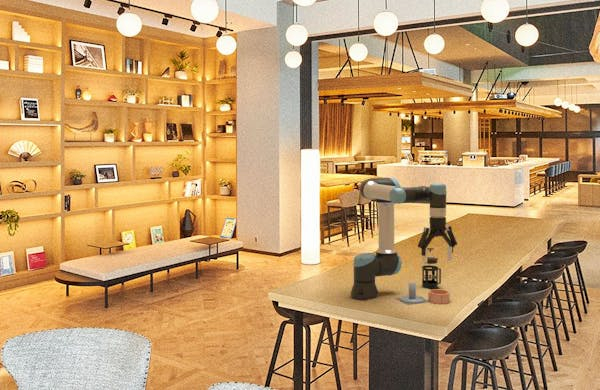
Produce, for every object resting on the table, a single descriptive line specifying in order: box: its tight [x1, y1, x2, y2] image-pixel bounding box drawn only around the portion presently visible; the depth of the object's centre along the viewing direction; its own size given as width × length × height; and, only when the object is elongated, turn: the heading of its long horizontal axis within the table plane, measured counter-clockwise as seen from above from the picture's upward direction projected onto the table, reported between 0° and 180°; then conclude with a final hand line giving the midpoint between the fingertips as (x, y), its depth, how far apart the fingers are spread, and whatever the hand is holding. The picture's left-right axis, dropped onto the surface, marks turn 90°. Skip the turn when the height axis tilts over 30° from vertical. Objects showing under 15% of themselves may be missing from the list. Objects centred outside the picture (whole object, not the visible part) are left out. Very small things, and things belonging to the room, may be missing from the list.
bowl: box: [427, 288, 451, 305], centre depth 293 cm, size 10×10×5 cm
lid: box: [399, 282, 425, 304], centre depth 296 cm, size 13×13×9 cm
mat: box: [393, 297, 431, 306], centre depth 296 cm, size 14×14×1 cm
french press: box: [421, 247, 442, 290], centre depth 322 cm, size 12×9×23 cm
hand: (437, 261), depth 263 cm, fingers open, 13 cm apart
